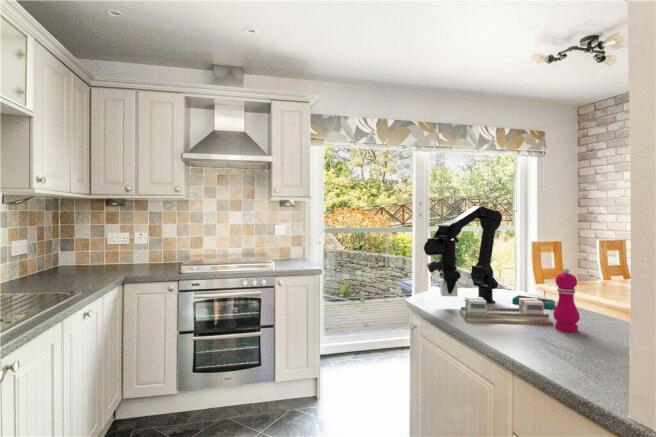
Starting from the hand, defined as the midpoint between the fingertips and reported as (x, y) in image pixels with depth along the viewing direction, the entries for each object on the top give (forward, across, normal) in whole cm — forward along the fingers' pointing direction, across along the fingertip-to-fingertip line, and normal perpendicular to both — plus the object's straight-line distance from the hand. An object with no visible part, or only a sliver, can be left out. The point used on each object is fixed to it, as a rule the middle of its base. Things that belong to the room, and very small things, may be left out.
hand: (448, 292), depth 151 cm
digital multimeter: (+7, -8, +35) cm, 37 cm away
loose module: (+1, 0, 0) cm, 1 cm away
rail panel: (+6, +13, +17) cm, 22 cm away
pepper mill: (+6, +25, +33) cm, 42 cm away
